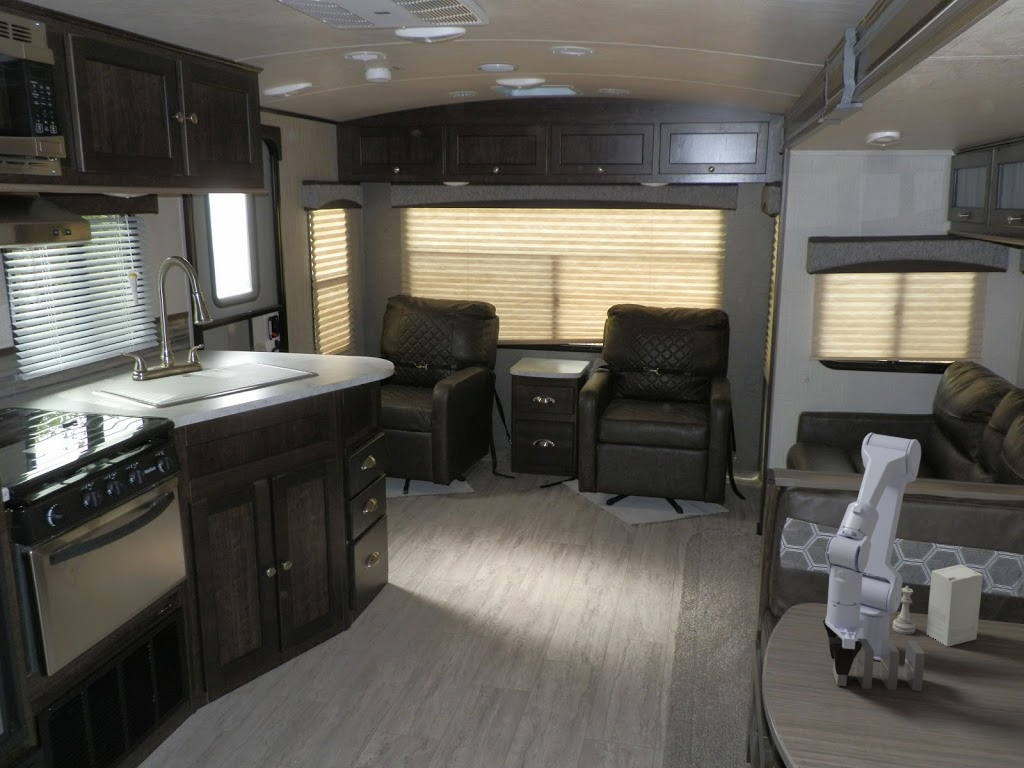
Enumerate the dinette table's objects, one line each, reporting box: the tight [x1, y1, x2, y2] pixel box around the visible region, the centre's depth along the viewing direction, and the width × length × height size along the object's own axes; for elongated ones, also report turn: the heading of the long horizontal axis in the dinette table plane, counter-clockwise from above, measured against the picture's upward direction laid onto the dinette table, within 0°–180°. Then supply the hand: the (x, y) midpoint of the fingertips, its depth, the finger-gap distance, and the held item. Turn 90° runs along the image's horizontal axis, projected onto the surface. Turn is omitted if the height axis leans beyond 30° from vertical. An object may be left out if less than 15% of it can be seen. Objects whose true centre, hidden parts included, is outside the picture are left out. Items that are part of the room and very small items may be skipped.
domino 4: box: [903, 640, 926, 692], centre depth 165 cm, size 2×5×8 cm, turn 174°
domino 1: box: [832, 636, 848, 687], centre depth 167 cm, size 2×5×8 cm, turn 169°
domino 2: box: [854, 639, 875, 690], centre depth 166 cm, size 2×5×8 cm, turn 174°
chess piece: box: [892, 585, 916, 635], centre depth 186 cm, size 4×4×10 cm
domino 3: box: [878, 639, 900, 691], centre depth 166 cm, size 2×5×8 cm, turn 174°
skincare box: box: [925, 564, 984, 647], centre depth 182 cm, size 8×6×15 cm
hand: (839, 666), depth 167 cm, fingers open, 5 cm apart
